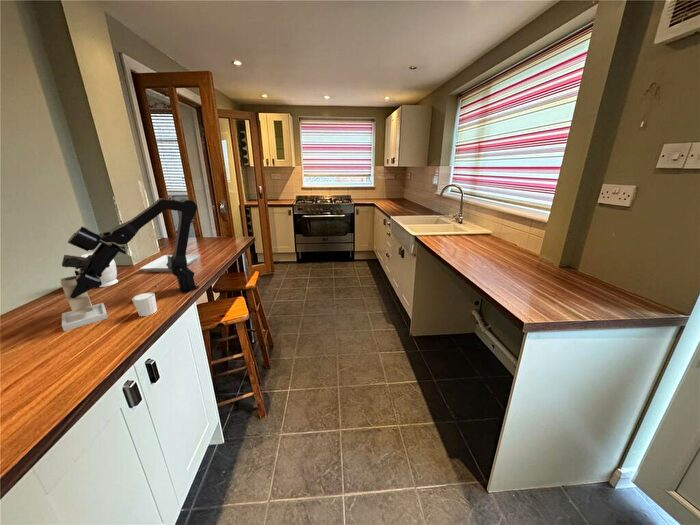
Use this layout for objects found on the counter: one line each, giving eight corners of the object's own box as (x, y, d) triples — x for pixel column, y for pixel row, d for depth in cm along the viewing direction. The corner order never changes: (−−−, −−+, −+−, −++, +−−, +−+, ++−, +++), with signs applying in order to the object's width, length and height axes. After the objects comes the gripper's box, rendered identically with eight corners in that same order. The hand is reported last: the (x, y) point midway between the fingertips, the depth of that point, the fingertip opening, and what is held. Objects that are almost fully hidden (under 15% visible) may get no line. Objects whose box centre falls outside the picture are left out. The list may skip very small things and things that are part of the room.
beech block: (92, 305, 104) (80, 274, 99) (93, 310, 100) (80, 278, 96) (73, 310, 101) (60, 278, 96) (74, 315, 97) (60, 282, 93)
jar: (87, 286, 128) (75, 255, 123) (112, 278, 137) (102, 249, 132) (101, 290, 124) (89, 258, 119) (126, 281, 133) (116, 251, 128)
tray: (104, 307, 109) (103, 302, 109) (108, 318, 101) (106, 313, 101) (63, 318, 102) (61, 313, 101) (64, 331, 94) (61, 326, 93)
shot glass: (148, 318, 101) (142, 301, 98) (132, 317, 102) (126, 299, 100) (163, 309, 107) (159, 292, 105) (148, 307, 108) (143, 291, 106)
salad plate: (181, 273, 142) (179, 267, 141) (139, 274, 142) (137, 268, 141) (202, 259, 162) (201, 254, 161) (166, 260, 162) (164, 254, 161)
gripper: (74, 240, 101) (43, 277, 98) (75, 251, 89) (39, 294, 85) (109, 256, 109) (81, 290, 106) (114, 268, 96) (83, 307, 93)
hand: (71, 295), depth 97 cm, fingers closed on beech block, 5 cm apart
